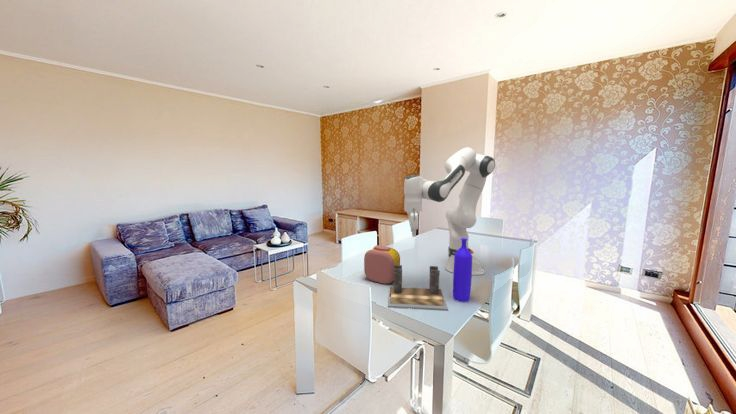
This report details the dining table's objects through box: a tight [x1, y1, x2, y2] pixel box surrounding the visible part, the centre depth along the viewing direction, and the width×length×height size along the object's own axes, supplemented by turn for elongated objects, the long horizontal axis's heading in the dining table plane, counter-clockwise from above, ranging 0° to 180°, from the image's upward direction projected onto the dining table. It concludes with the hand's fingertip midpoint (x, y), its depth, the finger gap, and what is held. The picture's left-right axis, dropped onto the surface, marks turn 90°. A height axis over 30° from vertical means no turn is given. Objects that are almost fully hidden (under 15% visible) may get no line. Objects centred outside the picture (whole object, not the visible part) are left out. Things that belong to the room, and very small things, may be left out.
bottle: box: [452, 238, 473, 303], centre depth 132 cm, size 8×8×30 cm
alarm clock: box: [363, 244, 401, 285], centre depth 155 cm, size 18×11×19 cm, turn 61°
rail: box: [390, 294, 445, 306], centre depth 128 cm, size 24×3×3 cm, turn 84°
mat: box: [387, 297, 449, 311], centre depth 128 cm, size 27×8×1 cm, turn 84°
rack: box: [389, 264, 444, 298], centre depth 138 cm, size 26×8×14 cm, turn 84°
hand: (413, 233), depth 140 cm, fingers open, 8 cm apart
